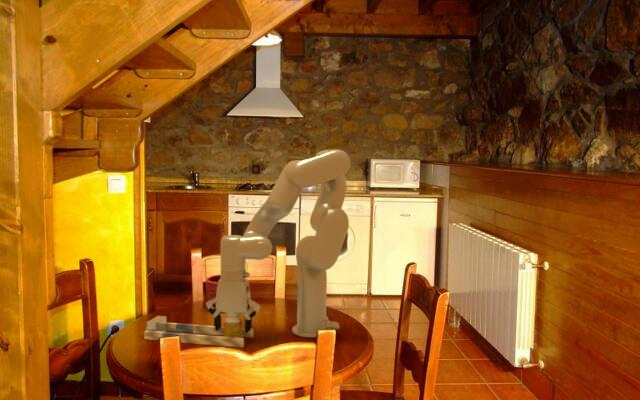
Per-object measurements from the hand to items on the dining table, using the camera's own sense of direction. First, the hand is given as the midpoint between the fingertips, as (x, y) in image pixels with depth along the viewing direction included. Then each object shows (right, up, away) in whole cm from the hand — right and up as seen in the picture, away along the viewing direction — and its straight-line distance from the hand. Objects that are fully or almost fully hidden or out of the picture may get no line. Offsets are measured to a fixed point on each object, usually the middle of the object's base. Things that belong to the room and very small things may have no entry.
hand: (232, 330), depth 159 cm
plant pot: (-10, -1, +36) cm, 37 cm away
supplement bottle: (0, -3, 0) cm, 3 cm away
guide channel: (-11, -3, +2) cm, 11 cm away
